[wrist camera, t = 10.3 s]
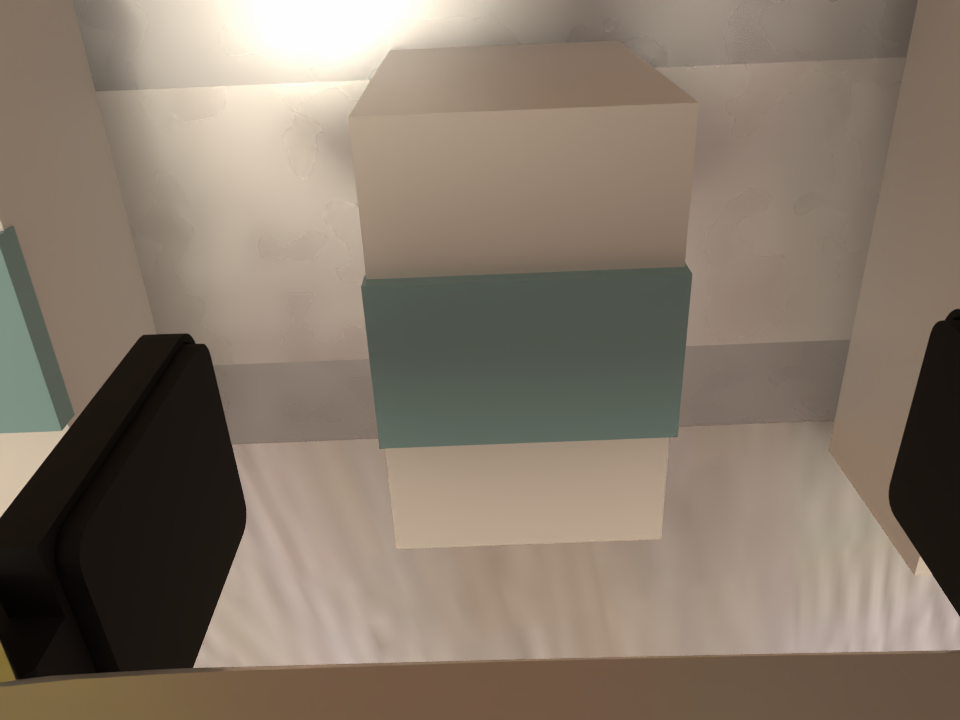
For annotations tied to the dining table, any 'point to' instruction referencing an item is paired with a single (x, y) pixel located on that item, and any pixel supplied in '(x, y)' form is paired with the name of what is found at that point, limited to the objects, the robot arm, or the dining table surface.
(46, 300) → the block
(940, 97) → the mounted module
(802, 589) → the dining table surface
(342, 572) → the dining table surface
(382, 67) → the block
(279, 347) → the rail
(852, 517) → the dining table surface
